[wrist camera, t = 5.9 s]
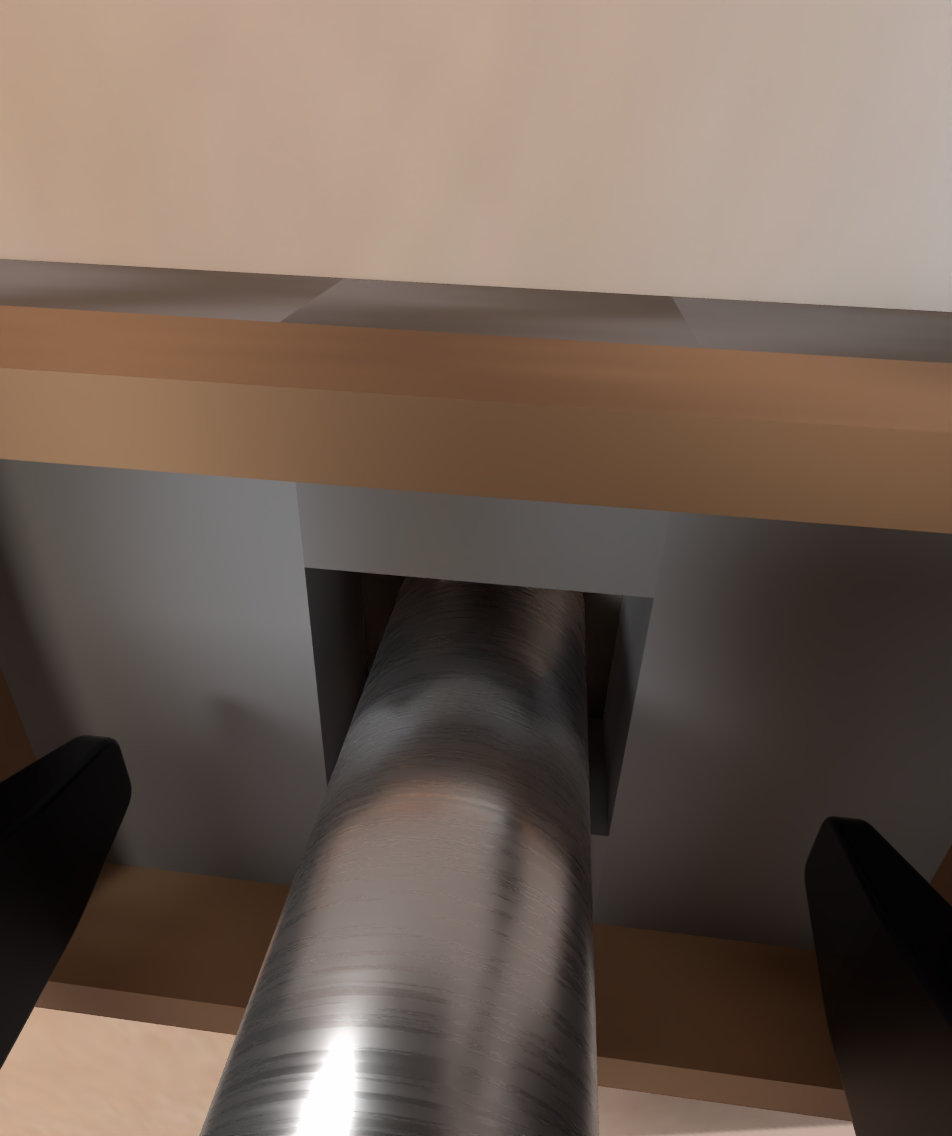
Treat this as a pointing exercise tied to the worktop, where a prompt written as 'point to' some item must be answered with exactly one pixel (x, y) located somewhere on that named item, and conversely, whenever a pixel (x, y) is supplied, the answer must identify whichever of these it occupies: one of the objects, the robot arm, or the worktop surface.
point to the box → (496, 556)
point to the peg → (439, 894)
